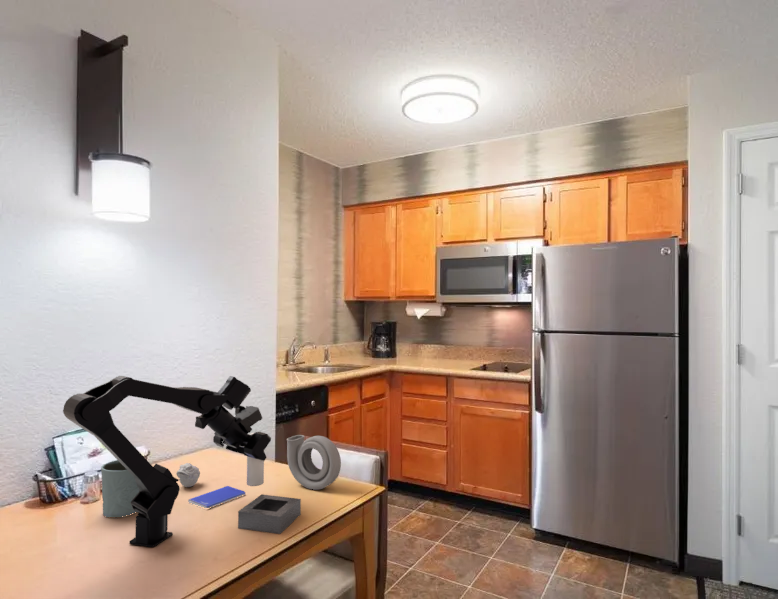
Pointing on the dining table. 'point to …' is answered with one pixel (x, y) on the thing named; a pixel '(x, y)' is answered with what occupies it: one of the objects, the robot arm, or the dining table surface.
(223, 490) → the hard drive
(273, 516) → the frame
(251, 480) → the white rounded cylinder
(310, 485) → the turbocharger housing
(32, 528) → the dining table surface
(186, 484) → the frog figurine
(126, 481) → the grey green pot
